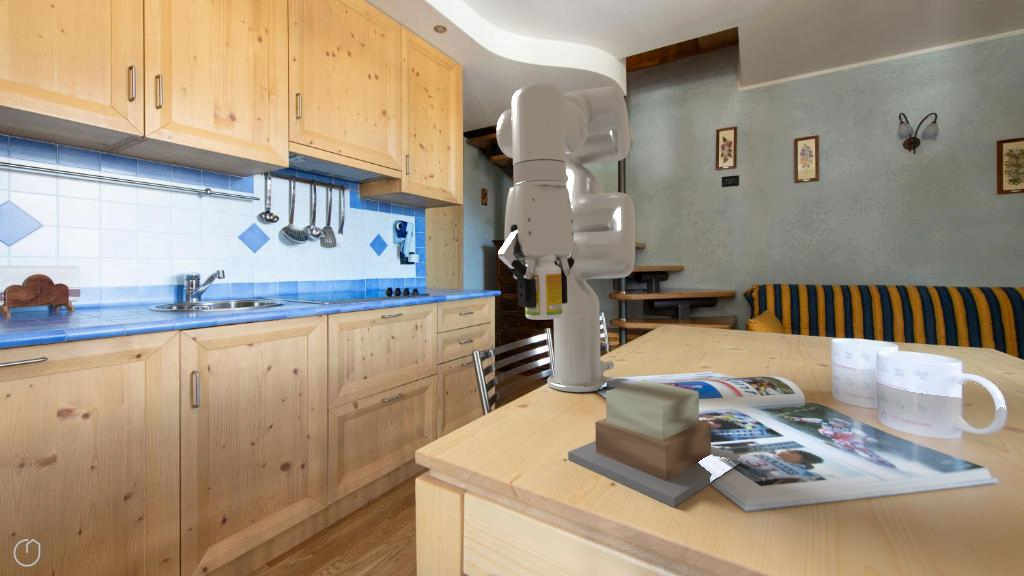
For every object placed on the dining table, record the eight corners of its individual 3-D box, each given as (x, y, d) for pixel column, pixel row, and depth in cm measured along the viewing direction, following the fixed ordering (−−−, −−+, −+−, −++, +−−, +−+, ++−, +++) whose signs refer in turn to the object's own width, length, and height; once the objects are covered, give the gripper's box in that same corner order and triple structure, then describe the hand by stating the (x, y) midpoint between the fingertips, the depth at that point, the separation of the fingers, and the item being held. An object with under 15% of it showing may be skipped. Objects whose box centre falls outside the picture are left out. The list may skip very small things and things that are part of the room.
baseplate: (638, 430, 66) (638, 423, 66) (740, 463, 54) (740, 455, 54) (568, 459, 57) (568, 451, 57) (673, 507, 45) (673, 498, 45)
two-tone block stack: (642, 432, 63) (641, 377, 62) (711, 455, 55) (710, 391, 54) (595, 452, 56) (594, 391, 56) (665, 481, 49) (665, 409, 48)
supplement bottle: (562, 314, 66) (560, 250, 66) (562, 319, 61) (561, 249, 60) (526, 315, 67) (524, 251, 66) (524, 320, 62) (521, 251, 61)
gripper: (563, 187, 71) (566, 298, 72) (475, 177, 60) (480, 308, 62) (599, 179, 65) (602, 301, 66) (508, 168, 54) (513, 313, 56)
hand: (543, 303), depth 64 cm, fingers closed on supplement bottle, 5 cm apart
